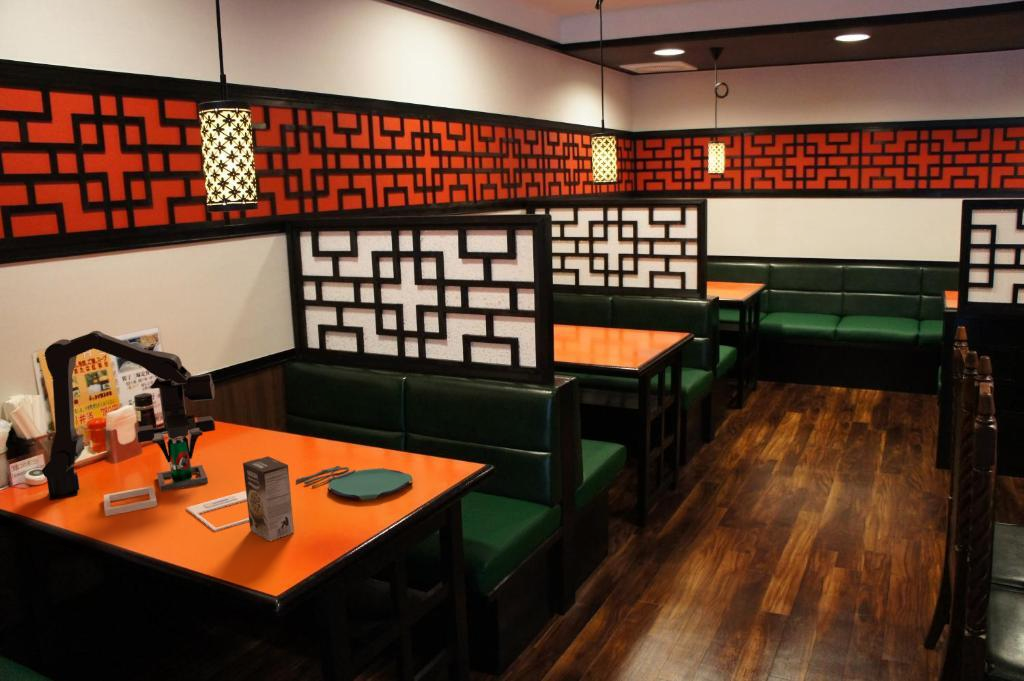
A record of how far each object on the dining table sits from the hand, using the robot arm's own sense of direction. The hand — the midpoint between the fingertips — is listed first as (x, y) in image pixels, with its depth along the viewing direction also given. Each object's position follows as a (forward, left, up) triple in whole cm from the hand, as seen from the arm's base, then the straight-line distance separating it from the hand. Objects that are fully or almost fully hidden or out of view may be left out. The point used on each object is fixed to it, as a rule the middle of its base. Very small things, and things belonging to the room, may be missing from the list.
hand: (179, 460), depth 217 cm
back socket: (0, 0, -6) cm, 6 cm away
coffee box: (+14, -47, -6) cm, 49 cm away
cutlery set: (+39, -28, -6) cm, 49 cm away
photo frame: (+8, -29, -6) cm, 31 cm away
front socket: (-13, -10, -6) cm, 17 cm away
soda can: (0, 0, -6) cm, 6 cm away
